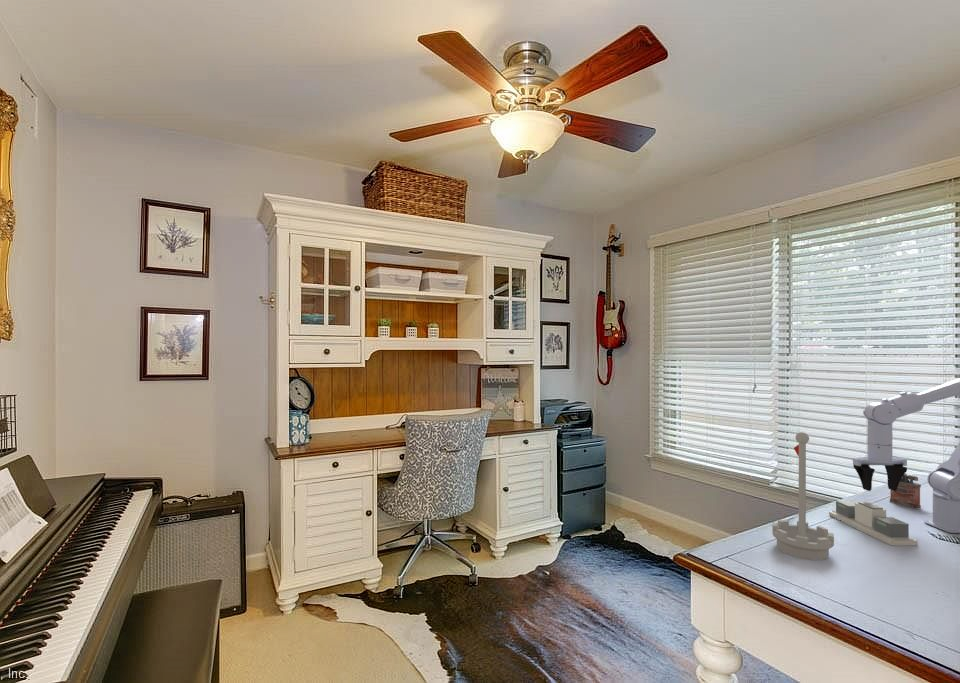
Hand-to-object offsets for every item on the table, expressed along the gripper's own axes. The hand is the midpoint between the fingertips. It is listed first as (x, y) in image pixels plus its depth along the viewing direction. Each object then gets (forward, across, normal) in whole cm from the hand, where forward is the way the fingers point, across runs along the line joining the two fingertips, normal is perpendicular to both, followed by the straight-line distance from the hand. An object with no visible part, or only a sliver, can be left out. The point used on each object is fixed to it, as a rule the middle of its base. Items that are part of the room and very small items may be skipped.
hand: (879, 489), depth 143 cm
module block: (+8, +8, +6) cm, 12 cm away
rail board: (+9, +8, +6) cm, 13 cm away
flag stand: (+10, +36, +19) cm, 42 cm away
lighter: (+10, -21, -15) cm, 28 cm away
